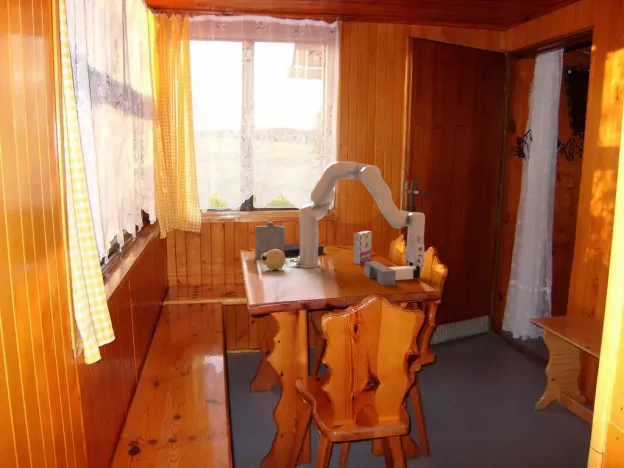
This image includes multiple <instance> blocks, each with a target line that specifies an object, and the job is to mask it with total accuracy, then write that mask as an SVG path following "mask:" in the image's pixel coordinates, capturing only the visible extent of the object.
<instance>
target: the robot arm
mask: <svg viewBox="0 0 624 468" xmlns="http://www.w3.org/2000/svg"><path fill="white" fill-rule="evenodd" d="M340 180H357V181H361V182H362V184H363V185H364V186H365V188H366V189H367V190H368V192H369V193H370V195H371V196H372V197H373V199H374V200H375V202H376V205H377V206H378V209H379V211H380V213H381V215H382V216H383V217H384V218H385V220H386V221H387V222H388V224H389V225H390V226H391V227H392V228H394V229H398V230H399V229H402V228H403V227H407V238H406V242H407V243H406V248H405V260H406V266H414V269H415V270H414V272H413V278H417V279H420V277H421V269H422V267H423V266H424V264H425V242H424V239H425V238H424V237H425V225H426V224H425V221H426V215H425V214H424V213H423V212H418V211H417V212H416V211H415V212H413V211H412V212H411V211H408V210H407V211H406V210H399V208H398V206H397V205H396V204H395V202H394V200H393V197H392V191H391V188H390V187H389V186H388V184H387V183H386V182H385V180H384V179H383V177H382V172H381V169H380V168H379V167H378V166H377V165H371V164H366V163H363V162H362V163H361V162H357V161H335V162H331V163H329V164H328V165H327V166H326V167H325V168H324V170H323V172H322V174H321V175H320V177H319V179H318V181H317V182H316V184H315V186H314V187H313V189H312V190H311V193H310V200H311V203H308V204H305V205H303V206H302V207H300V209H299V211H298V223H299V243H300V252H299V256H297V257H296V258H292V257H291V258H290V259H289V262H290V263H295V266H296V267H298V268H305V269H314V268H315V269H316V268H319V267H322V266H321V265H322V264H321V262H319V255H318V244H319V223H318V221H320V220H322V219H323V218H324V217H325V215H326V214H327V212H328V210H329V208H330V206H331V205H332V203H333V201H334V199H335V196H336V195H335V190H334V189H335V187H336V185H337V182H338V181H340Z"/></svg>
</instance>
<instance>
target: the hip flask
mask: <svg viewBox="0 0 624 468" xmlns="http://www.w3.org/2000/svg"><path fill="white" fill-rule="evenodd" d="M285 229H286V227H285V226H284V225H283V226H282V225H277V224H275V225H274V221H266V225H255V226H254V258H255V259H257V260H259V259H260V260H261V255H262V254H263V253H267V252H268V251H270V250H272V249H279V250H281V251H282V252H283V253H284V244H286V243H285V237H286V235H285Z"/></svg>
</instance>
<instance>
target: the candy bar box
mask: <svg viewBox="0 0 624 468" xmlns="http://www.w3.org/2000/svg"><path fill="white" fill-rule="evenodd" d="M372 237H373V232H372V231H369V230H363V231H359V232H358V231H357V232H354V233H353V255H352V256H353V257H352V258H353V265H354V264H355V265H360V266H361V265H365V262H370V261H372V248H373V246H372V244H373V243H372V242H373V240H372V239H373V238H372Z"/></svg>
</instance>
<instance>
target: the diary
mask: <svg viewBox="0 0 624 468" xmlns="http://www.w3.org/2000/svg"><path fill="white" fill-rule="evenodd" d="M324 248H326V246H325V245H323V244H320V243H318V256H320V255H325V253H324ZM299 252H300V242H296V243H295V242H293V243H285V244H284V255H285V258H292V257H296V258H297V257H298V256H299Z"/></svg>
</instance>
